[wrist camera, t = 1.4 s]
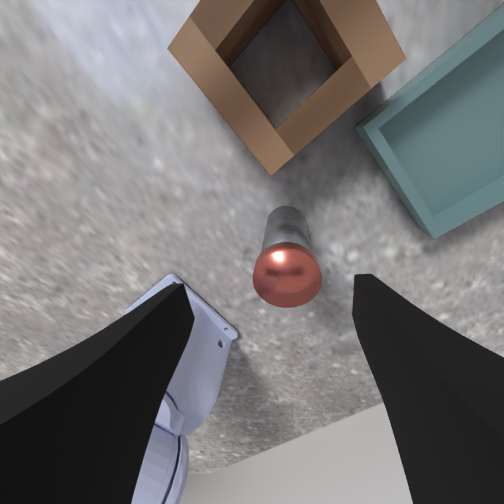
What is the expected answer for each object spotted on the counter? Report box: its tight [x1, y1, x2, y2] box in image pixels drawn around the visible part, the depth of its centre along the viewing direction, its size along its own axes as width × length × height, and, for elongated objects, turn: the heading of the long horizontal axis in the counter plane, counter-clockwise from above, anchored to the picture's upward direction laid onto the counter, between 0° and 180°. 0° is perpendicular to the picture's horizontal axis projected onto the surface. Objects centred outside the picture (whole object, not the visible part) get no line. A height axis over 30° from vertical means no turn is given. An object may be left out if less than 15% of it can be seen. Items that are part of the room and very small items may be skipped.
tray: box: [354, 4, 504, 239], centre depth 13 cm, size 9×12×2 cm
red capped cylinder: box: [253, 206, 321, 308], centre depth 16 cm, size 3×3×8 cm
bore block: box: [167, 0, 406, 176], centre depth 13 cm, size 8×8×4 cm
